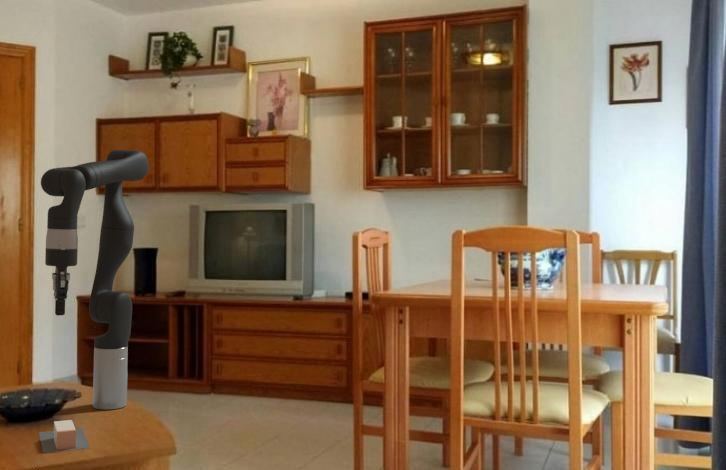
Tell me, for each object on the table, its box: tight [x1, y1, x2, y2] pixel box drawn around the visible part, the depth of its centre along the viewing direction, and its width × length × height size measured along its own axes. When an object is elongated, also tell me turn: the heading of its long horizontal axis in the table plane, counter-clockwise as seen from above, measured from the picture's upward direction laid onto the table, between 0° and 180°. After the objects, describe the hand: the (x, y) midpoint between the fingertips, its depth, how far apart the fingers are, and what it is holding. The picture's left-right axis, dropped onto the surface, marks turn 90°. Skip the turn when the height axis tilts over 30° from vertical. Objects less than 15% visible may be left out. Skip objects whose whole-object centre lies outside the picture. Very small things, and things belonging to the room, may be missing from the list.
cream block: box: [53, 419, 77, 450], centre depth 167 cm, size 4×4×10 cm
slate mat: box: [38, 427, 91, 454], centre depth 169 cm, size 18×10×1 cm, turn 28°
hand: (59, 314), depth 180 cm, fingers closed
